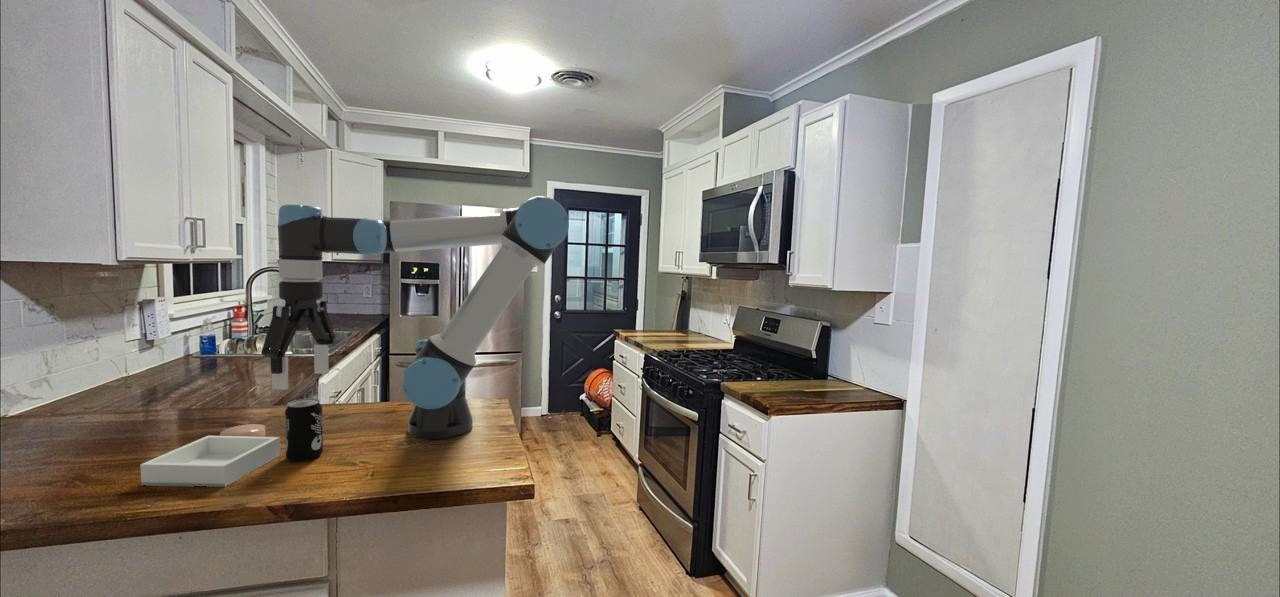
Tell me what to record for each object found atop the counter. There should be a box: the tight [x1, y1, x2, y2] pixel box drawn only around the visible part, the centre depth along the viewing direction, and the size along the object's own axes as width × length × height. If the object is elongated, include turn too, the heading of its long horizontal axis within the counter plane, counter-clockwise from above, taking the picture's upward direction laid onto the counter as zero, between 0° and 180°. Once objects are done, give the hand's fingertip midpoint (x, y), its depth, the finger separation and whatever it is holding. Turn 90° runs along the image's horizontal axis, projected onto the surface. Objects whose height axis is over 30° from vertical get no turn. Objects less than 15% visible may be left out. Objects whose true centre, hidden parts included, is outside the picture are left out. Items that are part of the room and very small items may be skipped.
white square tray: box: [139, 435, 281, 488], centre depth 100 cm, size 15×15×4 cm
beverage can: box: [284, 398, 324, 463], centre depth 107 cm, size 7×7×12 cm
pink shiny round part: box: [219, 423, 266, 437], centre depth 114 cm, size 8×8×3 cm
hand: (302, 380), depth 106 cm, fingers open, 13 cm apart
